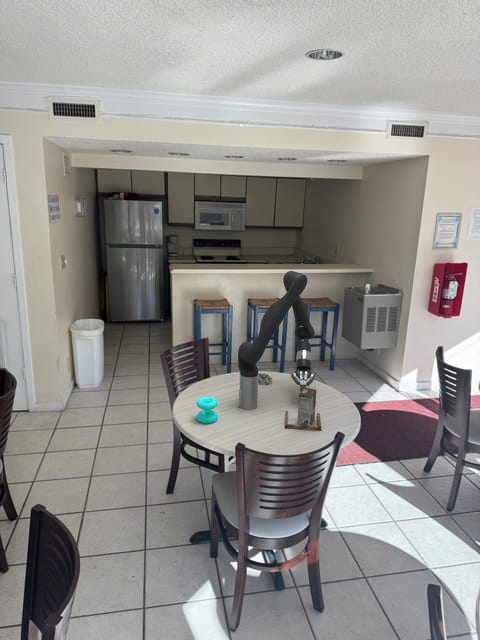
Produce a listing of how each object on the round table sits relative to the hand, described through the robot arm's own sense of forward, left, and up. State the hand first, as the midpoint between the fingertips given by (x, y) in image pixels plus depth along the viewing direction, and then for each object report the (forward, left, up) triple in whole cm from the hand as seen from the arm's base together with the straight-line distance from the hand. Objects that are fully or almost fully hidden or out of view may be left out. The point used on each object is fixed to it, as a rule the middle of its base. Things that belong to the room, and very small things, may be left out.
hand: (302, 392), depth 216 cm
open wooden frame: (0, -13, -9) cm, 16 cm away
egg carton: (-21, +33, -10) cm, 40 cm away
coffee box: (+2, -14, -9) cm, 17 cm away
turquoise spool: (-45, -17, -9) cm, 49 cm away
